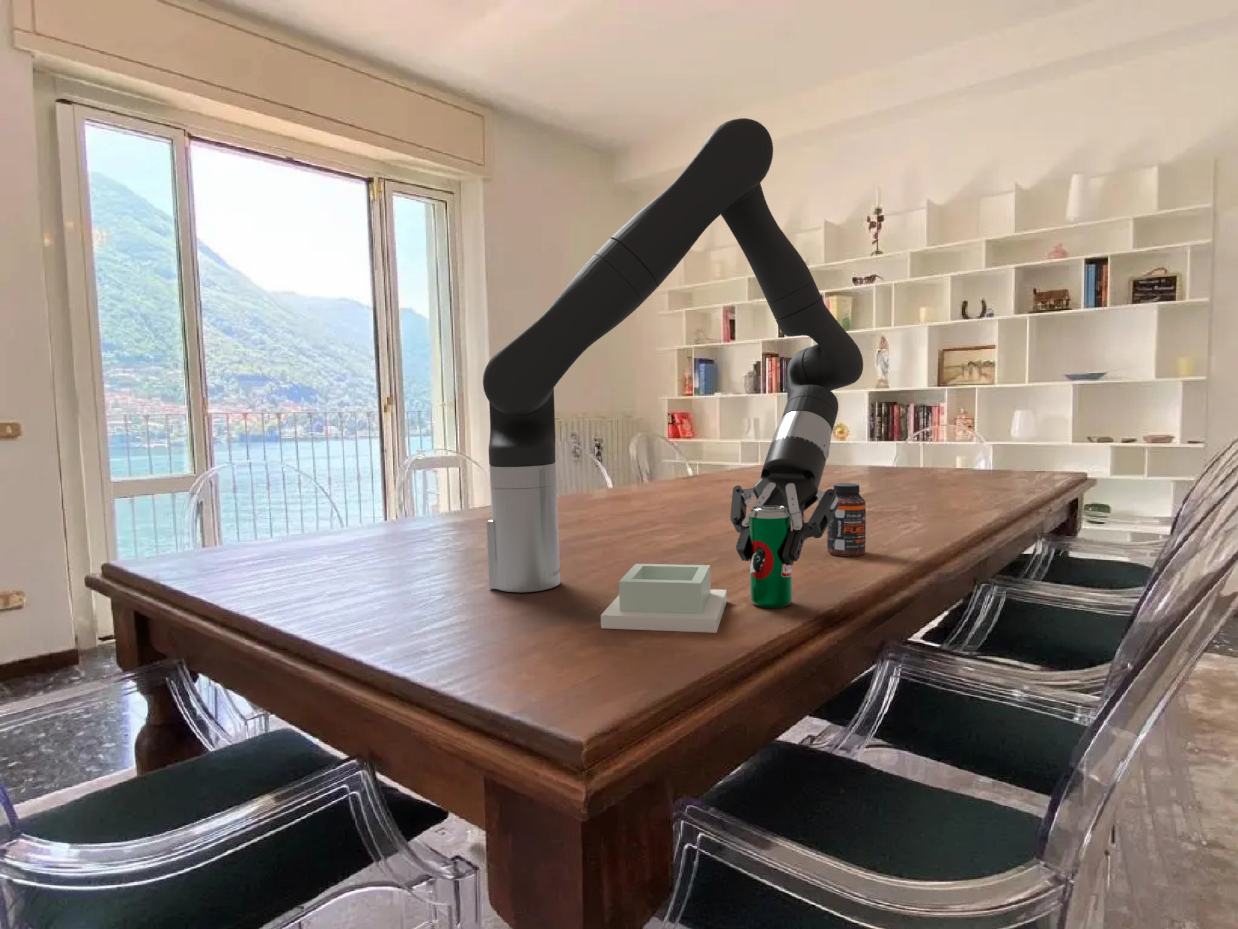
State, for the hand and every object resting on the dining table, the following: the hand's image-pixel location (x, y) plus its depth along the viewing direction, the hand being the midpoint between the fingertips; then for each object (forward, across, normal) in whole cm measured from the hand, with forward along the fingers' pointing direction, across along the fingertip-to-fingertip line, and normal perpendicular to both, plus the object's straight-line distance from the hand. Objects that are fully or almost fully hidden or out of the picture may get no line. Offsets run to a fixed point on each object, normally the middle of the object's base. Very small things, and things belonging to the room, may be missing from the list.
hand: (765, 558), depth 91 cm
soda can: (+3, 0, +6) cm, 6 cm away
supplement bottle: (-21, -1, +30) cm, 36 cm away
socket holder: (+10, -9, -1) cm, 14 cm away
